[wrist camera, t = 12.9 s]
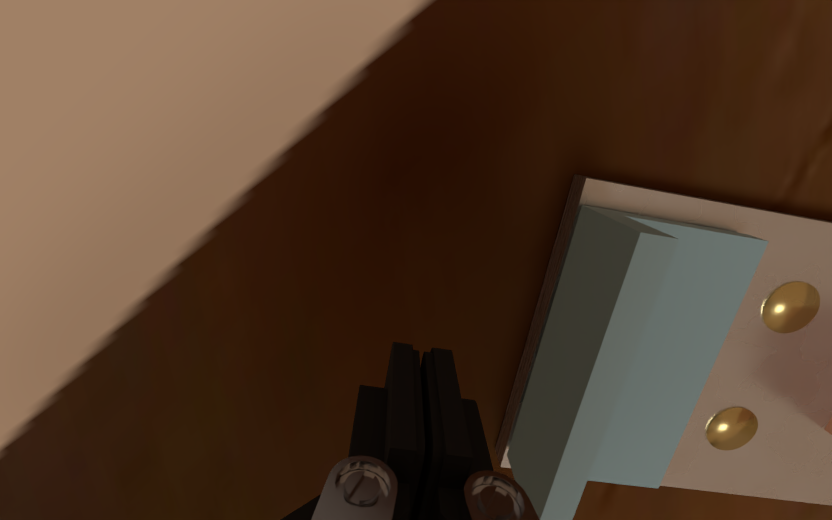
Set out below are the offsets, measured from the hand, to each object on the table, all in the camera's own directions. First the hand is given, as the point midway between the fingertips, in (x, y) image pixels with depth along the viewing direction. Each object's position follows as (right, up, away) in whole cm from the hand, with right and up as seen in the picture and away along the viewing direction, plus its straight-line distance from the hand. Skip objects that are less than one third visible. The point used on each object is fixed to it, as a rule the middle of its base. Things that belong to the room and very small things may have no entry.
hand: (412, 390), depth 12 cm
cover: (+9, 0, +6) cm, 11 cm away
